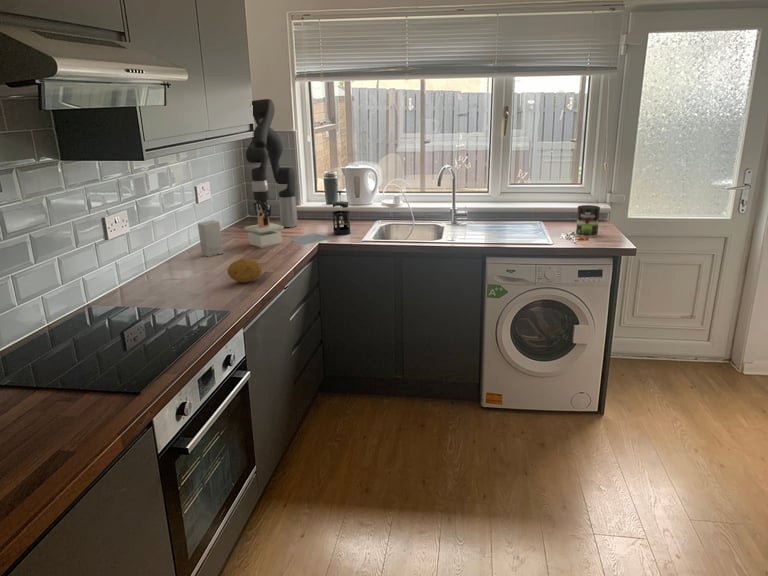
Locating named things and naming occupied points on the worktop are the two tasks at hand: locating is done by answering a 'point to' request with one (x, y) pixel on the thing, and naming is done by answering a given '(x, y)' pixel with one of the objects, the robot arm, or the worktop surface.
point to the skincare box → (210, 238)
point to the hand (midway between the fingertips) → (263, 224)
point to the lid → (263, 226)
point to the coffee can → (587, 221)
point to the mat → (309, 238)
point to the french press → (346, 219)
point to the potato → (244, 270)
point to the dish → (265, 238)
